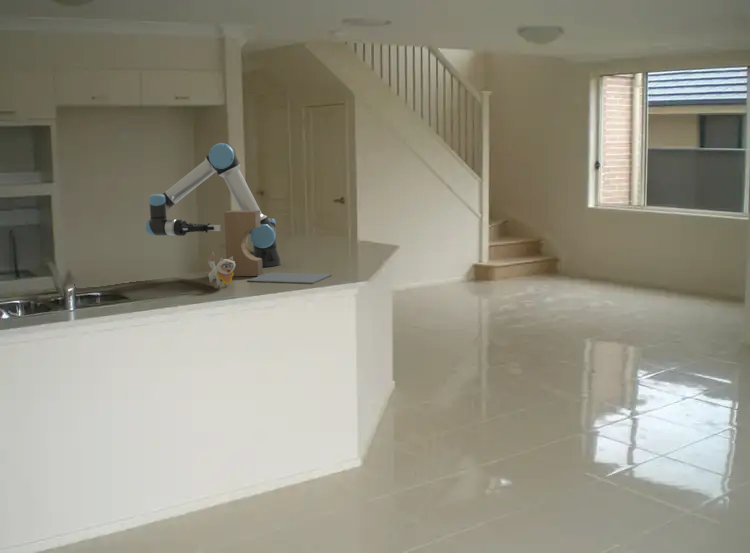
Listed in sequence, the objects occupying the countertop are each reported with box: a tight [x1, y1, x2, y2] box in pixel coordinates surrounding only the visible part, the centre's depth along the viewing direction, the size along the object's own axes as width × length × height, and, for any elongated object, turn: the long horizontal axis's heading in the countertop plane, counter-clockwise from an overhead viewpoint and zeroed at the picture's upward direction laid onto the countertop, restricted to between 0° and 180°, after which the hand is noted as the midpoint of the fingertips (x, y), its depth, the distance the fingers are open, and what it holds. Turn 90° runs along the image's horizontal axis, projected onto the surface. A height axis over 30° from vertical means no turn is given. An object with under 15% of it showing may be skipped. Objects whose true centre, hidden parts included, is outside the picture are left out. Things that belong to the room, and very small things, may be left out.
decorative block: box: [223, 209, 264, 277], centre depth 413 cm, size 15×8×30 cm, turn 77°
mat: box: [246, 272, 333, 285], centre depth 403 cm, size 22×32×1 cm
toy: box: [207, 251, 235, 288], centre depth 385 cm, size 9×19×15 cm, turn 36°
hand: (220, 228), depth 416 cm, fingers closed
